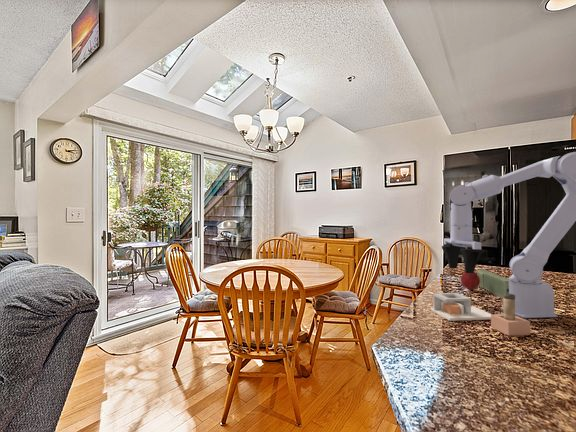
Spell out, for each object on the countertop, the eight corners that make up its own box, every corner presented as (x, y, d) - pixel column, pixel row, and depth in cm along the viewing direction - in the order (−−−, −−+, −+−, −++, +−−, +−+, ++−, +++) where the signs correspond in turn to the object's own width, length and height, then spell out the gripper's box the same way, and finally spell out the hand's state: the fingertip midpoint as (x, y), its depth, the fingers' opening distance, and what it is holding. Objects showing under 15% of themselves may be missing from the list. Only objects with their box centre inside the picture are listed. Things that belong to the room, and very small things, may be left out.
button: (453, 310, 82) (453, 303, 82) (459, 313, 79) (459, 306, 79) (443, 310, 82) (443, 303, 82) (449, 314, 79) (449, 306, 79)
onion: (483, 292, 103) (483, 269, 103) (467, 292, 103) (466, 269, 103) (473, 288, 109) (473, 266, 109) (457, 288, 109) (457, 266, 109)
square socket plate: (473, 308, 85) (473, 290, 86) (497, 319, 77) (497, 299, 77) (430, 309, 85) (430, 292, 85) (449, 320, 76) (449, 301, 76)
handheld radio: (486, 286, 112) (526, 306, 87) (476, 286, 112) (514, 306, 88) (485, 269, 112) (525, 284, 87) (475, 269, 112) (513, 284, 88)
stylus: (510, 328, 70) (509, 293, 70) (518, 332, 68) (517, 295, 68) (500, 329, 70) (500, 293, 70) (508, 332, 68) (508, 296, 68)
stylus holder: (511, 326, 72) (511, 313, 72) (530, 334, 66) (530, 321, 66) (491, 326, 71) (491, 314, 71) (508, 335, 66) (508, 322, 66)
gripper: (434, 225, 96) (434, 266, 96) (464, 226, 81) (464, 275, 82) (455, 225, 96) (455, 266, 96) (488, 226, 82) (488, 275, 82)
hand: (461, 270), depth 89 cm, fingers open, 7 cm apart
